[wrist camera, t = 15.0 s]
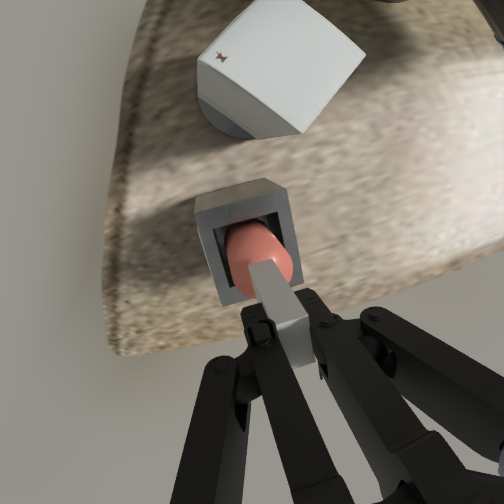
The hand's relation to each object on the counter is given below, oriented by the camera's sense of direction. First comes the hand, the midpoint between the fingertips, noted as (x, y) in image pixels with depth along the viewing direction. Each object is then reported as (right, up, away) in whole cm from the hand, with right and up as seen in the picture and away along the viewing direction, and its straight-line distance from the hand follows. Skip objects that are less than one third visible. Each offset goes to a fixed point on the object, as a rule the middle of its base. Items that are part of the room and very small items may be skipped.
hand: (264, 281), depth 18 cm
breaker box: (-2, +5, +12) cm, 13 cm away
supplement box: (-1, +17, +7) cm, 18 cm away
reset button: (-1, +3, +7) cm, 8 cm away
